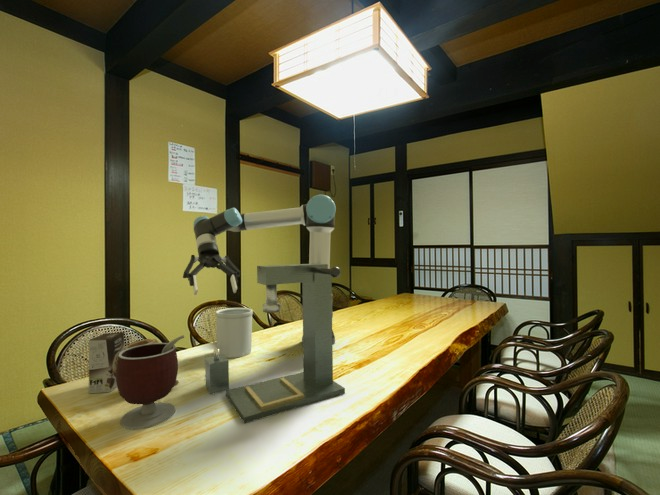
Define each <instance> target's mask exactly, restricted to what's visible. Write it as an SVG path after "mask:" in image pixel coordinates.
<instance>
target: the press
mask: <svg viewBox="0 0 660 495" xmlns="http://www.w3.org/2000/svg"><path fill="white" fill-rule="evenodd" d="M341 274H342V271H341V268H340V267H338V266H332V267H330V269H328V264H309V263H301V264H300V263H295V264H293V263H291V264H271V265H269V264H268V265H257V266H256V276H257V277H256V282H257V284H261V285H265V296H266V297H265V298H266V301H265V303H263V304H262V313H264V314H265V313H266V314H268V313H269V314H272V313H273V314H275V313H279V312H281V303H279V302H278V294H277V293H278V291H277V290H278V288H277V285H283V284H285V285H287V284H299V283H301V285H302V287H301V288H302V289H301V290H302V336H303V344H302V349H303V350H302V353H303V354H302V355H303V357H302V358H303V359H302V361H303V363H302V364H303V365H302V366H303V371H301V372H298V373H293V374H289V375H285V376H281V377H277V378H272V379H268V380H265V381H259V382H255V383H251V384H248V385H244V386H243V385H242V386H239V387H235V388H231V389H230V388H229V390H226V391H225V396H226V398H227V399H228V401H229V402H230V405H231V406H232V407H233V409H234V410H235V411H236V414H238V416H239V417H240V419H241V421H242V422H243V423H244V424H247V423H248V424H249V423H250V422H254V421H257V420H261V419H265V418H268V417H270V416H274V415H277V414H280V413H281V414H282V413H284V412H287V411H291V410H293V409H297V408H301V407H305V406H308V405H310V404H314V403H318V402H321V401H323V400H327V399H331V398H333V397H337V396H340V395H341V396H342V395H344V394H346V392H345V391H346V388H345V387H344V386H342V385H340V384H339V383H337V382H336V381H334V377H333V376H334V372H333V370H334V369H333V368H334V367H333V366H334V363H333V360H334V359H333V353H334V352H333V351H334V350H333V345H332V330H333V317H332V312H333V290H332V289H333V286H332V284H333V283H332V282H333V280H332V278H334V279H335V278H336V279H337V278H339V277H340V276H341Z"/></svg>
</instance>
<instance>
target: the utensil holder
mask: <svg viewBox="0 0 660 495" xmlns="http://www.w3.org/2000/svg"><path fill="white" fill-rule="evenodd" d="M253 313H254V311H253V309H252V308H249V307H229V308H223V309H222V308H221V309H218V310H216V311H215V316H216V317H215V318H216V321H215V324H216V333H215V334H216V349H217V348H218V349H219V355H222V354H223V355H224V356H225V357H226V358H227V359H235V358H236V359H237V358H240V357H245V356H248V355H250V354H251V352H252V338H253V336H252V334H253Z"/></svg>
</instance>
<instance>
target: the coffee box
mask: <svg viewBox="0 0 660 495" xmlns="http://www.w3.org/2000/svg"><path fill="white" fill-rule="evenodd" d="M124 348H125V332H122V331H121V332H120V331H119V332H118V331H117V332H107V333H102V334H100V335H98V336H96V337H94V338H93V337H92V339H90V340H88V394H98V393H99V394H102V393H111V392H113V391H114V390H115V389H116V388H117V383H116V368H117V362H118V358H119V353H120V352H122V351H123V350H124Z"/></svg>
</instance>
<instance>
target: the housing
mask: <svg viewBox="0 0 660 495" xmlns="http://www.w3.org/2000/svg"><path fill="white" fill-rule="evenodd" d="M204 362H205V363H204V364H205V366H204V369H205V370H204V372H205V374H204V375H205V378H204V380H205V388H206V390H207V391H208V393H209V395H213V393H214V394H217V393H221V392H226V390H230V381H229V379H230V375H229V374H230V372H229V371H230V370H229V366H230V365H229V358H226V357H225V356H224V355H223V354H222V355H219V349H218V348H217V347H216V348H214V349H213V355H212V356H206V357H204Z"/></svg>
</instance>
